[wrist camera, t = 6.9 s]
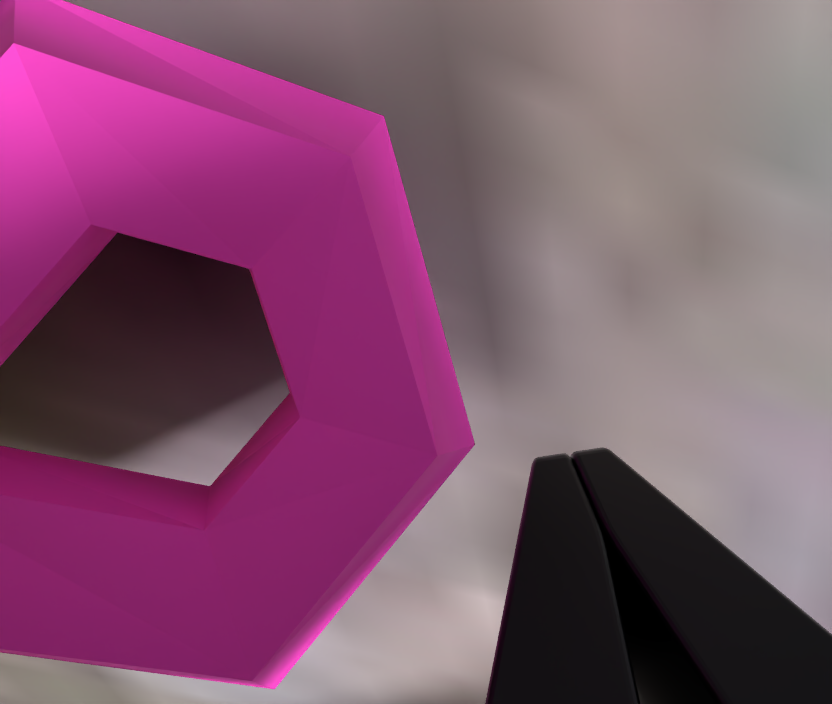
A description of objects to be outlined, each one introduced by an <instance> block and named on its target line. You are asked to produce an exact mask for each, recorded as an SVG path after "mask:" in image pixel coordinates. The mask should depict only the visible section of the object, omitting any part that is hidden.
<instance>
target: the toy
mask: <svg viewBox="0 0 832 704" xmlns="http://www.w3.org/2000/svg"><path fill="white" fill-rule="evenodd" d="M117 233H121V234H125V235H128V236H132V237H136V238H139V239H143V240H146V241H150V242H154V243H157V244H161V245H165V246H168V247H172V248H175V249H179V250H183V251H186V252H190V253H193V254H197V255H201V256H204V257H208V258H212V259H215V260H219V261H222V262H226V263H230V264H233V265H237V266H240V267H244V268H248V269H249V270H250V273H251V276H252V279H253V282H254V285H255V288H256V291H257V294H258V297H259V300H260V303H261V307H262V310H263V313H264V316H265V319H266V322H267V325H268V328H269V331H270V334H271V337H272V340H273V343H274V346H275V349H276V352H277V355H278V358H279V361H280V364H281V367H282V370H283V373H284V376H285V379H286V382H287V385H288V389H289V392H290V393H289V394H288V396H287V397H286V398H285V399H284V400H283V401H282V403H281V404H280V405H279V406H278V407H277V408H276V410H275V411H274V412H273V413H272V414H271V415H270V417H269V418H268V419H267V420H266V421H265V423H264V424H263V425H262V426H261V427H260V428H259V430H258V431H257V432H256V433H255V434H254V435H253V437H252V438H251V439H250V440H249V441H248V442H247V444H246V445H245V446H244V447H243V448H242V450H241V451H240V452H239V453H238V454H237V455H236V457H235V458H234V459H233V460H232V461H231V462H230V464H229V465H228V466H227V467H226V468H225V469H224V471H223V472H222V473H221V474H220V475H219V477H218V478H217V479H216V480H215V481H214V482H213V484H212V485H211V486H205V485H200V484H195V483H190V482H185V481H180V480H175V479H169V478H164V477H159V476H154V475H149V474H144V473H139V472H133V471H128V470H123V469H118V468H113V467H108V466H103V465H97V464H92V463H87V462H82V461H77V460H72V459H67V458H61V457H56V456H51V455H46V454H41V453H36V452H31V451H25V450H20V449H15V448H10V447H5V446H0V652H2V653H9V654H17V655H24V656H32V657H39V658H47V659H54V660H62V661H69V662H76V663H84V664H91V665H99V666H106V667H114V668H121V669H129V670H136V671H144V672H151V673H158V674H166V675H173V676H181V677H188V678H196V679H203V680H211V681H218V682H225V683H233V684H240V685H248V686H255V687H263V688H270V689H275V688H276V687H277V685H278V684H279V683H280V682H281V681H282V679H283V678H284V677H285V676H286V675H287V673H288V672H289V671H290V670H291V668H292V667H293V666H294V665H295V664H296V662H297V661H298V660H299V659H300V657H301V656H302V655H303V654H304V653H305V651H306V650H307V649H308V648H309V646H310V645H311V644H312V643H313V642H314V640H315V639H316V638H317V637H318V635H319V634H320V633H321V632H322V631H323V629H324V628H325V627H326V626H327V624H328V623H329V622H330V621H331V620H332V618H333V617H334V616H335V615H336V613H337V612H338V611H339V610H340V609H341V607H342V606H343V605H344V604H345V602H346V601H347V600H348V599H349V598H350V596H351V595H352V594H353V593H354V591H355V590H356V589H357V588H358V587H359V585H360V584H361V583H362V582H363V580H364V579H365V578H366V577H367V576H368V574H369V573H370V572H371V571H372V569H373V568H374V567H375V566H376V565H377V563H378V562H379V561H380V560H381V558H382V557H383V556H384V555H385V554H386V552H387V551H388V550H389V549H390V548H391V546H392V545H393V544H394V543H395V541H396V540H397V539H398V538H399V537H400V535H401V534H402V533H403V532H404V530H405V529H406V528H407V527H408V526H409V524H410V523H411V522H412V521H413V519H414V518H415V517H416V516H417V515H418V513H419V512H420V511H421V510H422V508H423V507H424V506H425V505H426V504H427V502H428V501H429V500H430V499H431V497H432V496H433V495H434V494H435V493H436V491H437V490H438V489H439V488H440V486H441V485H442V484H443V483H444V482H445V480H446V479H447V478H448V477H449V475H450V474H451V473H452V472H453V471H454V469H455V468H456V467H457V466H458V464H459V463H460V462H461V461H462V460H463V458H464V457H465V456H466V455H467V453H468V452H469V451H470V450H471V449H472V447H473V446H474V445H475V443H474V439H473V436H472V432H471V428H470V425H469V421H468V418H467V414H466V410H465V407H464V403H463V400H462V396H461V392H460V389H459V385H458V382H457V378H456V374H455V371H454V367H453V364H452V360H451V356H450V353H449V349H448V346H447V342H446V338H445V335H444V331H443V328H442V324H441V320H440V317H439V313H438V310H437V306H436V302H435V299H434V295H433V291H432V288H431V284H430V281H429V277H428V273H427V270H426V266H425V263H424V259H423V255H422V252H421V248H420V245H419V241H418V237H417V234H416V230H415V227H414V223H413V219H412V216H411V212H410V209H409V205H408V201H407V198H406V194H405V191H404V187H403V183H402V180H401V176H400V173H399V169H398V165H397V162H396V158H395V154H394V151H393V147H392V144H391V140H390V136H389V133H388V129H387V126H386V122H385V118H384V116H382V115H380V114H377V113H374V112H371V111H368V110H366V109H363V108H360V107H357V106H355V105H352V104H349V103H346V102H343V101H341V100H338V99H335V98H332V97H330V96H327V95H324V94H321V93H318V92H316V91H313V90H310V89H307V88H305V87H302V86H299V85H296V84H293V83H291V82H288V81H285V80H282V79H280V78H277V77H274V76H271V75H268V74H266V73H263V72H260V71H257V70H255V69H252V68H249V67H246V66H243V65H241V64H238V63H235V62H232V61H230V60H227V59H224V58H221V57H218V56H216V55H213V54H210V53H207V52H205V51H202V50H199V49H196V48H193V47H191V46H188V45H185V44H182V43H180V42H177V41H174V40H171V39H168V38H166V37H163V36H160V35H157V34H155V33H152V32H149V31H146V30H143V29H141V28H138V27H135V26H132V25H130V24H127V23H124V22H121V21H118V20H116V19H113V18H110V17H107V16H105V15H102V14H99V13H96V12H93V11H91V10H88V9H85V8H82V7H80V6H77V5H74V4H71V3H68V2H66V1H63V0H1V1H0V366H1V365H2V364H3V363H4V362H5V361H6V359H7V358H8V357H9V356H10V355H11V354H12V353H13V351H14V350H15V349H16V348H17V347H18V346H19V345H20V343H21V342H22V341H23V340H24V339H25V338H26V337H27V335H28V334H29V333H30V332H31V331H32V330H33V329H34V327H35V326H36V325H37V324H38V323H39V322H40V321H41V319H42V318H43V317H44V316H45V315H46V314H47V313H48V311H49V310H50V309H51V308H52V307H53V306H54V305H55V303H56V302H57V301H58V300H59V299H60V298H61V297H62V296H63V294H64V293H65V292H66V291H67V290H68V289H69V288H70V286H71V285H72V284H73V283H74V282H75V281H76V280H77V278H78V277H79V276H80V275H81V274H82V273H83V272H84V270H85V269H86V268H87V267H88V266H89V265H90V264H91V262H92V261H93V260H94V259H95V258H96V257H97V256H98V254H99V253H100V252H101V251H102V250H103V249H104V248H105V246H106V245H107V244H108V243H109V242H110V241H111V240H112V238H113V237H114V236H115V235H116V234H117Z"/></svg>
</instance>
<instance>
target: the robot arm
mask: <svg viewBox="0 0 832 704" xmlns="http://www.w3.org/2000/svg"><path fill="white" fill-rule="evenodd" d="M485 704H832V634H831V633H829V632H828V631H827V630H826V629H825V628H823V627H822V626H821V625H820V624H819V623H817V622H816V621H815V620H814V619H813V618H811V617H810V616H809V615H808V614H807V613H805V612H804V611H803V610H802V609H801V608H799V607H798V606H797V605H796V604H795V603H793V602H792V601H791V600H790V599H789V598H787V597H786V596H785V595H784V594H783V593H781V592H780V591H779V590H778V589H777V588H775V587H774V586H773V585H772V584H770V583H769V582H768V581H767V580H766V579H764V578H763V577H762V576H761V575H760V574H758V573H757V572H756V571H755V570H754V569H752V568H751V567H750V566H749V565H748V564H746V563H745V562H744V561H743V560H742V559H740V558H739V557H738V556H737V555H736V554H734V553H733V552H732V551H731V550H730V549H728V548H727V547H726V546H725V545H724V544H722V543H721V542H720V541H719V540H718V539H716V538H715V537H714V536H713V535H712V534H710V533H709V532H708V531H707V530H706V529H704V528H703V527H702V526H701V525H699V524H698V523H697V522H696V521H695V520H693V519H692V518H691V517H690V516H689V515H687V514H686V513H685V512H684V511H683V510H681V509H680V508H679V507H678V506H677V505H675V504H674V503H673V502H672V501H671V500H669V499H668V498H667V497H666V496H665V495H663V494H662V493H661V492H660V491H659V490H657V489H656V488H655V487H654V486H653V485H651V484H650V483H649V482H648V481H647V480H645V479H644V478H643V477H642V476H641V475H639V474H638V473H637V472H636V471H635V470H633V469H632V468H631V467H630V466H628V465H627V464H626V463H625V462H624V461H622V460H621V459H620V458H619V457H618V456H616V455H615V454H614V453H613V452H612V451H610V450H609V449H606V448H596V449H589V450H582V451H576V452H574V453H573V454H572V455H571V457H569V456H568V455H567V454H556V455H550V456H543V457H538V458H536V459H534V461H533V463H532V467H531V472H530V477H529V482H528V488H527V493H526V498H525V503H524V508H523V513H522V518H521V523H520V529H519V534H518V539H517V544H516V549H515V554H514V559H513V564H512V570H511V575H510V580H509V585H508V590H507V595H506V600H505V605H504V611H503V616H502V621H501V626H500V631H499V636H498V641H497V646H496V652H495V657H494V662H493V667H492V672H491V677H490V682H489V687H488V693H487V698H486V703H485Z"/></svg>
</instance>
